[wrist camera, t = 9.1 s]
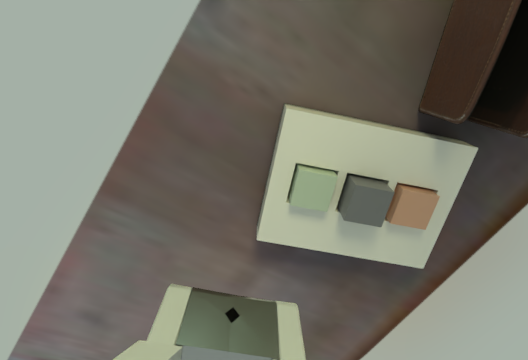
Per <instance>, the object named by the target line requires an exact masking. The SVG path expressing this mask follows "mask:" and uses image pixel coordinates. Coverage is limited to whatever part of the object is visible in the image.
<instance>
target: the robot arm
mask: <svg viewBox="0 0 528 360" xmlns="http://www.w3.org/2000/svg"><path fill="white" fill-rule="evenodd" d="M113 360H306V356H305V350H304V343H303V336H302V330H301V323H300V317H299V310H298V306H297V305H296V303H289V302H281V301H271V300H265V299H258V298H251V297H245V296H238V295H232V294H227V293H221V292H216V291H210V290H205V289H199V288H194V287H193V288H191V287H186V286H181V285H175V284H171V285H170V286H169V287H168V289H167V291H166V294H165V296H164V299H163V301H162V304H161V306H160V308H159V311H158V313H157V316H156V318H155V321H154V323H153V326H152V328H151V331H150V333H149V336H148V338H147V341H140V340H139V341H137V342H136V343H135V344H133V345H132V346H131V347H129V348H128V349H126V350H125V351H124V352H122V353H121V354H120V355H118V356H117V357H115V358H114V359H113Z"/></svg>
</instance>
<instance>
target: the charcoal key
mask: <svg viewBox="0 0 528 360" xmlns="http://www.w3.org/2000/svg"><path fill="white" fill-rule="evenodd" d="M394 193H395V192H394V191H393V190H392V189H391V188H390V187H389V186H388V185H387V184H386V183H385V182H384V181H380V180H375V179H370V178H365V177H360V176H355V175H349V174H348V176H347V179H346V182H345V185H344V189H343V192H342V195H341V198H340V201H339V204H338V207H337V208H338V210H339V212H340V214H341V216H342V218H343V220H344V221H348V222H354V223H360V224H365V225H371V226H376V227H382V224H383V222H384V219H385V217H386V214H387V211H388V209H389V206H390V204H391V201H392V198H393V196H394Z"/></svg>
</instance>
